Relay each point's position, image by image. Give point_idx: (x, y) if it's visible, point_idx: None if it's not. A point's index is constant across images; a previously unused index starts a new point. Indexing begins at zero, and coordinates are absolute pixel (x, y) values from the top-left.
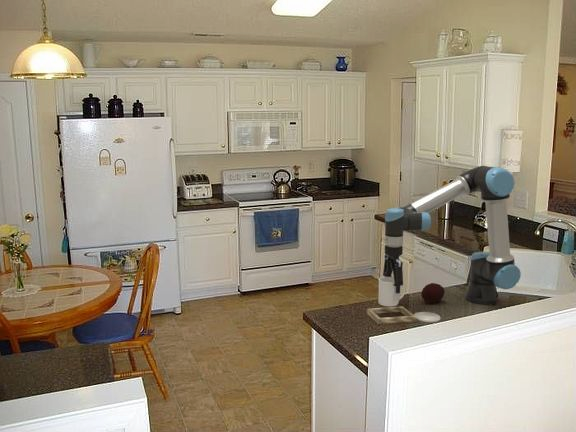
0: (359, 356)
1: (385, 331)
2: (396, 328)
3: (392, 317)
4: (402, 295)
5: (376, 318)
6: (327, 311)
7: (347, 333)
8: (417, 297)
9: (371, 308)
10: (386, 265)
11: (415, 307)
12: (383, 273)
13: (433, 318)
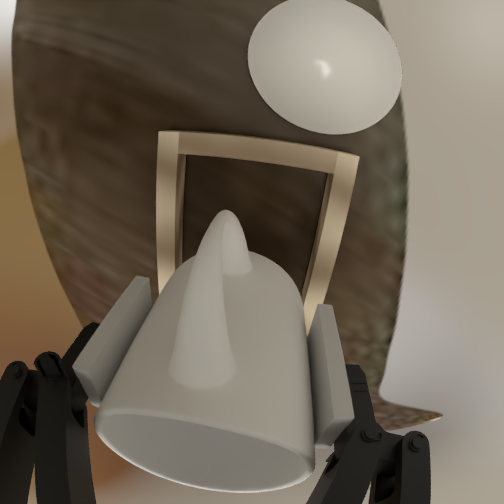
0: (438, 418)
1: (382, 341)
2: (383, 294)
3: (315, 287)
4: (235, 229)
5: None
6: None
7: None
8: (45, 5)
9: None
10: (18, 494)
11: (143, 39)
12: (34, 414)
13: (374, 54)
